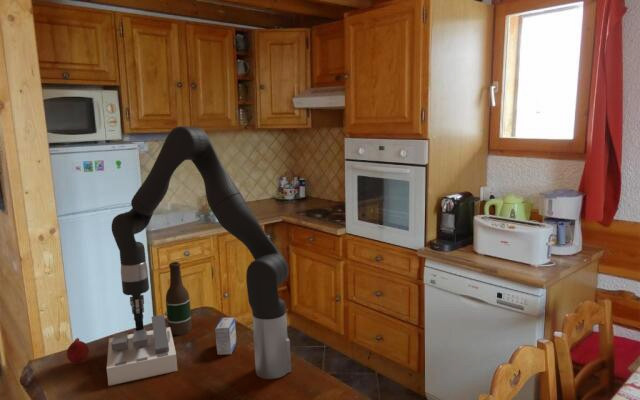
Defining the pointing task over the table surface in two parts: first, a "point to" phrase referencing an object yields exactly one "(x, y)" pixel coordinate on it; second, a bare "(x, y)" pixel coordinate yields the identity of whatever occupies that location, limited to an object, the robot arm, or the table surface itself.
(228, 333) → the medicine box
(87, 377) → the table surface
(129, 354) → the board rack
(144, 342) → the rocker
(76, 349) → the onion
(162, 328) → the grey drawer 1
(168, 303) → the beer bottle
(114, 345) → the grey board
